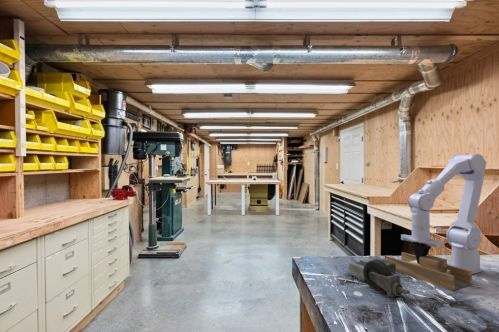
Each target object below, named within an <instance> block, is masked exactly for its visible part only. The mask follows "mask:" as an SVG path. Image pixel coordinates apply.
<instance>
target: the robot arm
mask: <svg viewBox="0 0 499 332" xmlns="http://www.w3.org/2000/svg"><path fill="white" fill-rule="evenodd" d="M487 162H488V161H486V159H485V158H484V157H483V154H479V153H472V154H471V153H470V154H454V155H452V156H451V157H450V159H448V160H447V165H446V166H445V167H444V168H443V170H442V171H441V172H440V173H439V174H438V175H437V177H436V178H435V179H434V178H433V179H432V178H431V179H429V180H427V181H426V183H425V184H424V185H423V186H422V187H421V189H419V190H418V191H417V192H416V193H413V194H411V195H410V196H409V198H408V200H407V205H408V207H409V209H410V212H411V235H408V234H405V233H404V234H400V240H401V241H407V242H410V244H409V246H410V247H411V249H412V251H413V253H414V255H415V256H416V259H417V263H418V264H419V257H423V256H427V255H428V253H429V251H430V249H431V248H432V247H433V248H436V249H443V248H444V247H443V244H444V243H443V242H441V241H439V240H435V239H432V238H431V236H430V235H431V234H430V233H431V232H430V229H431V228H430V226H431V223H430V220H431V219H430V210H431V209H433V207H434V204H435V201H436V199H437V198H438V197H439V196H440V195H441V194H443V192H444V191H445V185H446V184H448V182H449V181H451V180H452V179H453V178H454V177H455V176H456V175H457V174H458V175H459V176H460V177H462V178H463V179H464V180H465V181H464V186H463V190H462V196H461V200H460V205H459V211H458V213H457V214H458V215H457V219H455V220H454V221H452V222H451V223H450V226H449V228H448V229H447V231H446V233H445V234H446V239H447V241H448V242H449V245H450V246H451V266H455V267H459V268H462V269H466V270H469V271H472V275H474V274H477V273H480V272H483V271H484V270H483V269H481V254H480V251H479V249H478V248H479V246H480V245H481V242H482V237H481V234H482V230H481V229H480V227H478V225H477V224H476V218H477V215H478V209H479V203H480V200H481V195H482V190H483V189H482V188H483V186H484V185H483V184H484V180H485V179H484V178H485V172H486V167H487Z"/></svg>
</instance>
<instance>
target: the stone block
mask: <svg viewBox="0 0 499 332" xmlns="http://www.w3.org/2000/svg"><path fill="white" fill-rule="evenodd" d="M371 260H380V261H382V262H384V263H385V264H386V265H387V266H388V267H389V269H390V270H391V273H393V274H397V271H396V264H395V263H393V262H390V261H387V260H385V258H384V259H383V258H380V257H377V258H376V257H375V258H372V259H367V260H359V261H355V262H351V263H349V266H348V269H349V275H350V276H351V277H353V278H355V279H357V280H358V281H360V282H362V283H365V284H368V283H367V282H366V280H365V278H364V274H363V270H364V266H365V264H366V263H367V262H369V261H371Z"/></svg>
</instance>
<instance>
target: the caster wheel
mask: <svg viewBox="0 0 499 332" xmlns="http://www.w3.org/2000/svg"><path fill="white" fill-rule="evenodd" d="M370 260H371V259H370ZM363 274H364V278H365V280H366V282H367V283H366V284H367V285H368V286H369V287H370V288H372V289H373V290H375V291H386V296H387V297H389V298H393V297H396V296H397V297H400V296H401V295H403V294H404V295H405V294H406V295H410V290H408V289H406V288H405V289H404V287H403V285H402V283H401V279H400V277H401V276H400V275H399V274H397V273H396V274H393V273H391V270H390V269H389V267H388V266H387V265H386V264H385V263H384V262H382V261H380V260H371V261H369V262H367V263H366V264H365V266H364V270H363Z"/></svg>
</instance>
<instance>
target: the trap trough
mask: <svg viewBox="0 0 499 332" xmlns="http://www.w3.org/2000/svg"><path fill="white" fill-rule="evenodd" d="M400 253H401V257H400V259H399V258H397V257H396V258H395V257H393V256H389V255H384V260H387V261H390V262H393V263H395V264H396V273H401V274H402V275H406V276H409V277H412V278H414V279H417V280H419V281H423V282H425V283H429V284H432V285H434V286H436V287H439V288H440V287H441V288H443V289H447V290H449V291H451V292H455V291H457V290H460V289H463V288H466V287H469V286H472V285H473V274H472V271H469V270H466V269H462V268H459V267H455V266H452V264H448V263H447V271H445V272H439V271H436V270H432V269H429V268H426V267H423V266H419V264H418V263H417V259H416V256H415V254H411V253H407V252H400Z"/></svg>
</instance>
